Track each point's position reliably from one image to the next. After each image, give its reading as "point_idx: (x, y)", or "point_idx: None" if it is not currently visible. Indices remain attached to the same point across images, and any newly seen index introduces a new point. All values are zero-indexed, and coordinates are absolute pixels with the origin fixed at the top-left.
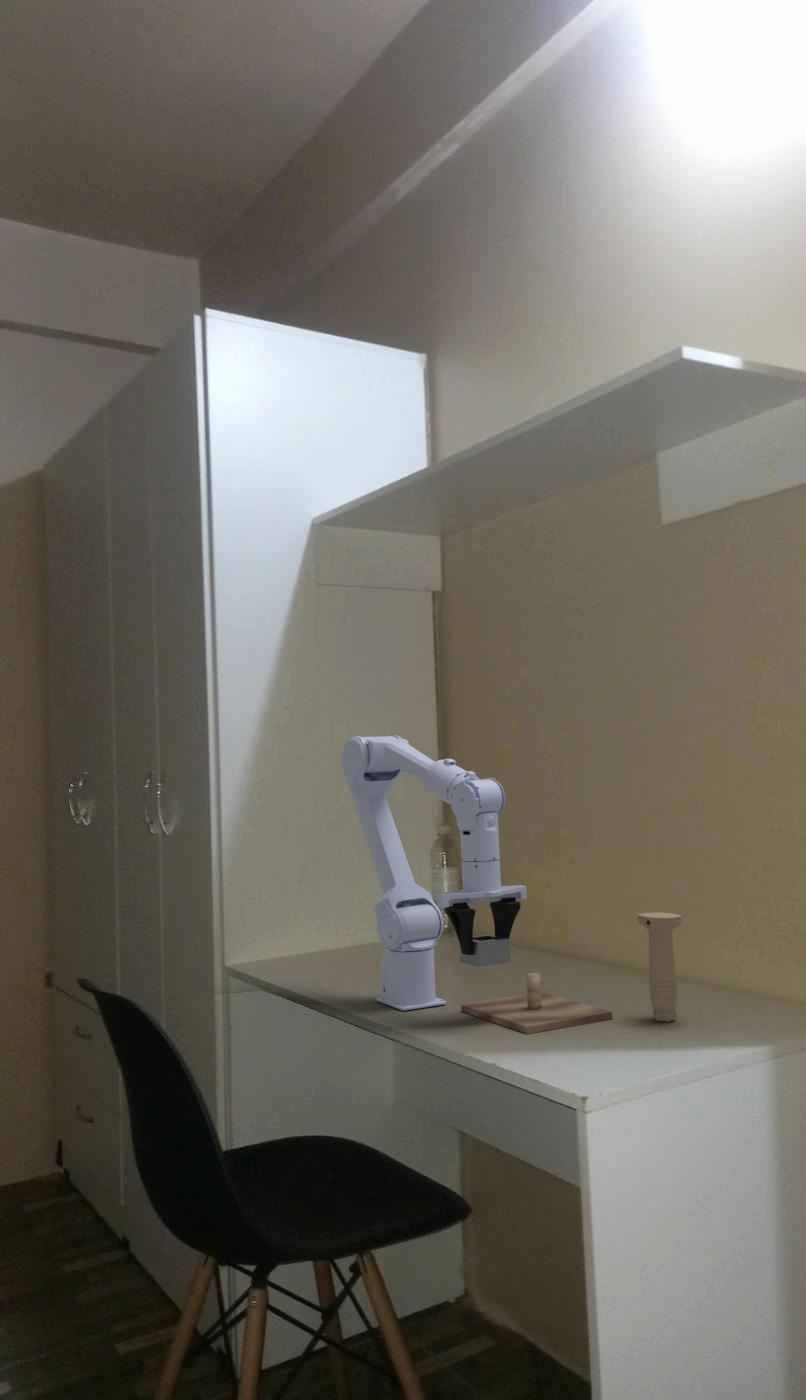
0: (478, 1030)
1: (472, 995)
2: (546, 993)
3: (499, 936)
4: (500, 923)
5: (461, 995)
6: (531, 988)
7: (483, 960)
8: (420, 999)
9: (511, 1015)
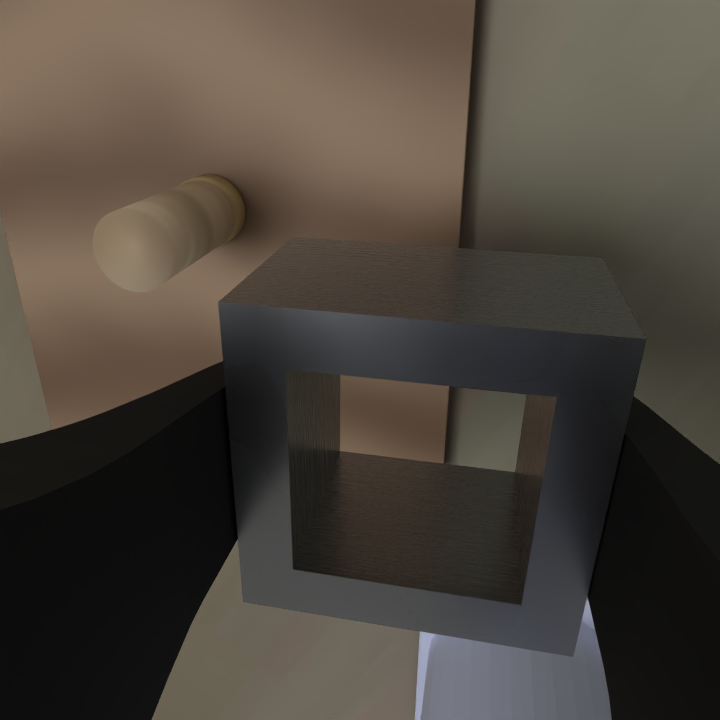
0: (627, 110)
1: (262, 611)
2: (46, 399)
3: (235, 468)
4: (160, 550)
5: (294, 635)
6: (194, 211)
7: (558, 267)
8: None
9: (390, 147)
